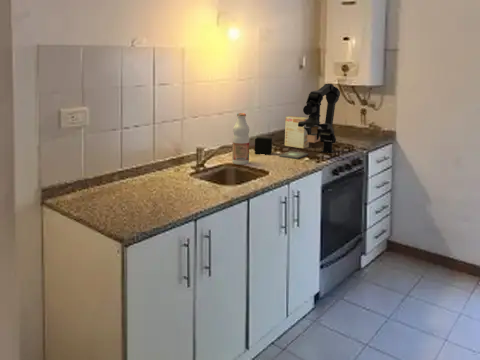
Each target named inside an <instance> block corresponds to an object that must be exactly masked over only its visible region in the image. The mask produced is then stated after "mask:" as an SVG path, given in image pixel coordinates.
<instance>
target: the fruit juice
mask: <svg viewBox="0 0 480 360" xmlns="http://www.w3.org/2000/svg"><path fill="white" fill-rule="evenodd" d="M246 114H247V113H243V112H242V113H241V112H238V113H237V114H236V117H237V119H236V122H235V124H234V126H233V127H232V132H233V136H232V154H231V155H232V156H231V157H232V160H231V161H232V163H233V164H235V165H248V164H249V162H250V136H249V135H250V127H249V125H248V124H247V120H246V117H247V115H246Z"/></svg>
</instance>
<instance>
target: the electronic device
mask: <svg viewBox="0 0 480 360" xmlns="http://www.w3.org/2000/svg"><path fill="white" fill-rule="evenodd" d="M272 153H273V138H272V137H263V136H262V137H261V136H257V137H255V139H254V154H255V155H260V154H265V155H264V156H270V155H271V154H272Z"/></svg>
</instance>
